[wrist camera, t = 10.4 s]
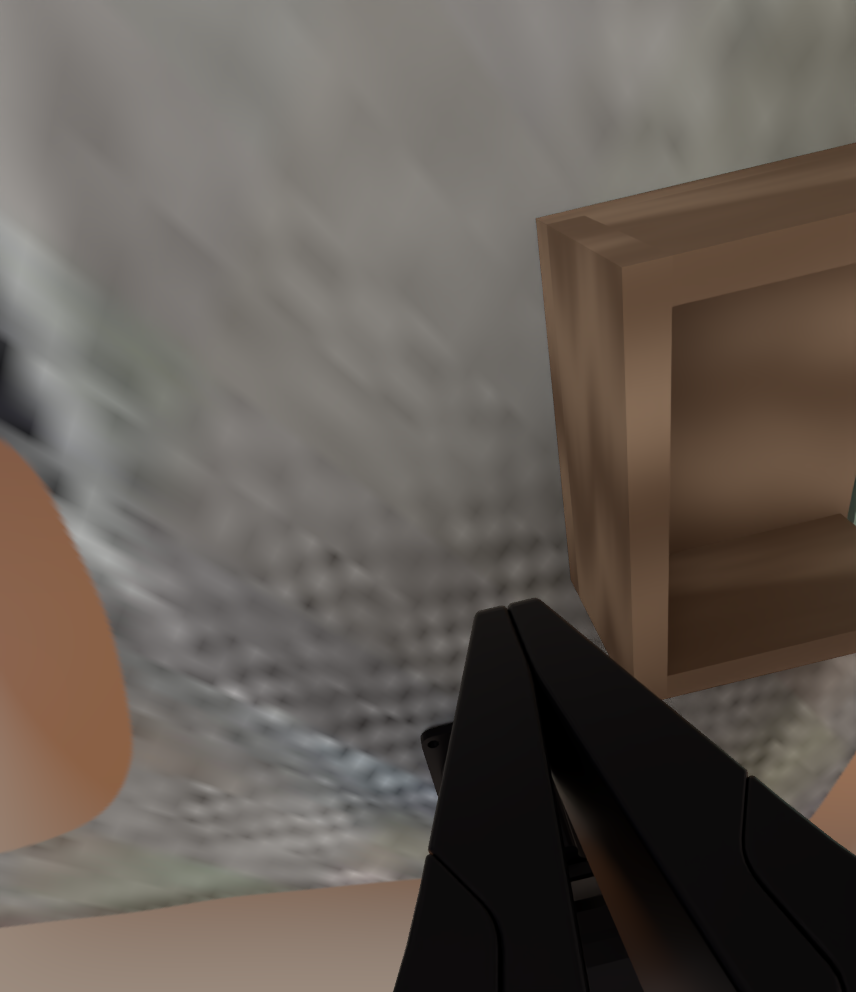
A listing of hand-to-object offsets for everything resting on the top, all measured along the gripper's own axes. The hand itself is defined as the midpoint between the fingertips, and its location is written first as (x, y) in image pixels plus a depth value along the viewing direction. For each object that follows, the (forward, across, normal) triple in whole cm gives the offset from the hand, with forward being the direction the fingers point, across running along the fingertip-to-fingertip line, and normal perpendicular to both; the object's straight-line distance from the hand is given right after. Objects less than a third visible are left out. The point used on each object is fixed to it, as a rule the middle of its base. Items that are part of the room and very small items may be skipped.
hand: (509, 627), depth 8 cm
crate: (+12, -9, +4) cm, 16 cm away
